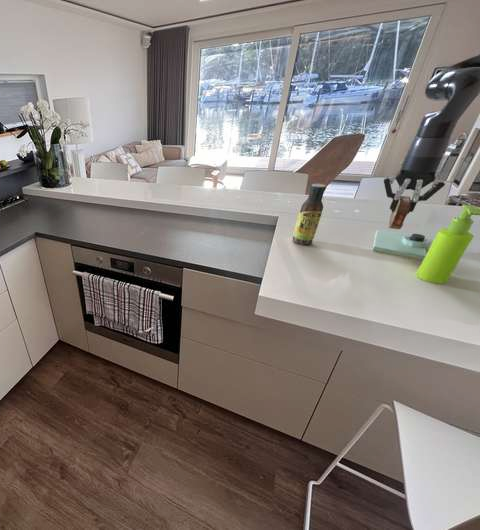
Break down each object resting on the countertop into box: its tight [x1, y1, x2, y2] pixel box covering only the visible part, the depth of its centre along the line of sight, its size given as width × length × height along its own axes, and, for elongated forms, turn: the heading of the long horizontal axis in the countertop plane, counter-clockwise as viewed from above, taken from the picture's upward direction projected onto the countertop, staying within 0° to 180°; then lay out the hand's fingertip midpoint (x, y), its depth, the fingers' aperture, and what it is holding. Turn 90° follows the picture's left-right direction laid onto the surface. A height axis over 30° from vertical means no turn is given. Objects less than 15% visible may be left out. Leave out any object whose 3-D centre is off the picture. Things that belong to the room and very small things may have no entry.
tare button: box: [410, 233, 426, 242], centre depth 89 cm, size 3×3×2 cm
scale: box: [372, 228, 431, 261], centre depth 92 cm, size 12×16×3 cm
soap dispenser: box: [415, 204, 480, 285], centre depth 72 cm, size 6×7×20 cm
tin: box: [388, 195, 412, 230], centre depth 89 cm, size 15×3×8 cm, turn 140°
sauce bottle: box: [291, 183, 327, 245], centre depth 95 cm, size 6×6×20 cm
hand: (399, 211), depth 89 cm, fingers closed on tin, 2 cm apart
